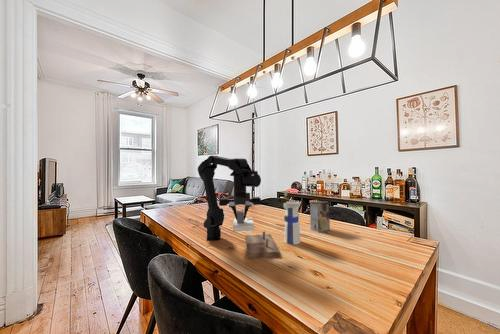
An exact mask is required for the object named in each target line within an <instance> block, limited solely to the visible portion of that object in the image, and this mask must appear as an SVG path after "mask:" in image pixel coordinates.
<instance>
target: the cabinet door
mask: <svg viewBox="0 0 500 334" xmlns="http://www.w3.org/2000/svg"><path fill="white" fill-rule="evenodd" d="M236 211H237V220H236V218H235V217H234V218H233V222H232V223H233V224H232V232H245V231H246V232H247V231H248V232H249V231H250V232H252V231H255V225H254V220H253V217H246V218H245V220H244V209H243V210H241V209H240V210H236Z"/></svg>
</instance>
